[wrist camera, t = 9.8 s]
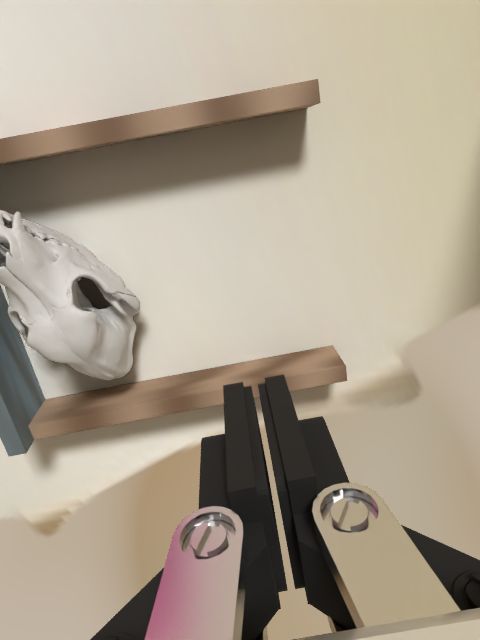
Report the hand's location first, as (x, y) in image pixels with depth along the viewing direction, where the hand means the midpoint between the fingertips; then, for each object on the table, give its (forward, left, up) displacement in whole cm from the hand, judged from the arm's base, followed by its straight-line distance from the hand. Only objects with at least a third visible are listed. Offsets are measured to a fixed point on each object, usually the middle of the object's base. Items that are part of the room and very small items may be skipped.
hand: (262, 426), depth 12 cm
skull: (+11, 0, -21) cm, 24 cm away
